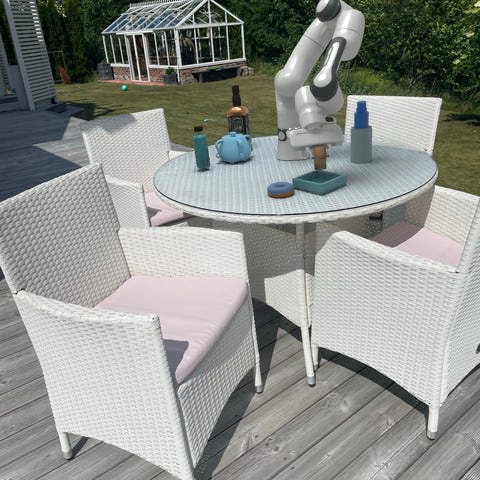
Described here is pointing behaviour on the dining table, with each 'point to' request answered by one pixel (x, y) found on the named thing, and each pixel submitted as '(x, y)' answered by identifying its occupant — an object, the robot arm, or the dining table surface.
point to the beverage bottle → (201, 148)
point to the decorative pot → (234, 148)
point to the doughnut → (280, 189)
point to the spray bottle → (361, 136)
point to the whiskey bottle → (238, 115)
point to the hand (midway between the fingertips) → (320, 157)
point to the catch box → (319, 182)
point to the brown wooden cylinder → (320, 157)
